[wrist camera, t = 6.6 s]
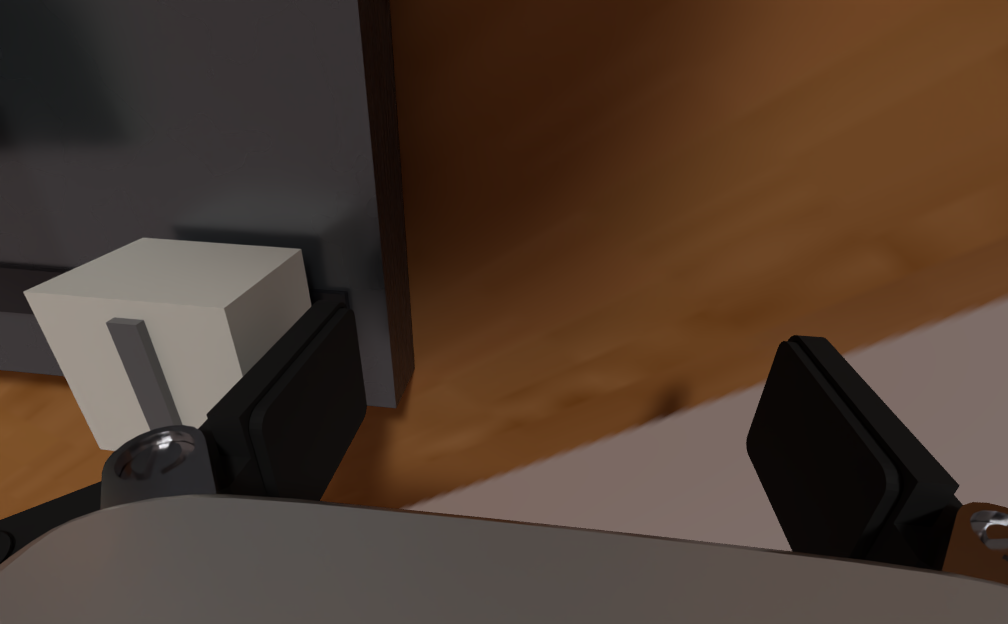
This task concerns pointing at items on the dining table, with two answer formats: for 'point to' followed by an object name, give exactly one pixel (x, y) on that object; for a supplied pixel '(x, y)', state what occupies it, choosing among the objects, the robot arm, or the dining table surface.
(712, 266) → the dining table surface
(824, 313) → the dining table surface
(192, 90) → the panel
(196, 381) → the ivory slider
